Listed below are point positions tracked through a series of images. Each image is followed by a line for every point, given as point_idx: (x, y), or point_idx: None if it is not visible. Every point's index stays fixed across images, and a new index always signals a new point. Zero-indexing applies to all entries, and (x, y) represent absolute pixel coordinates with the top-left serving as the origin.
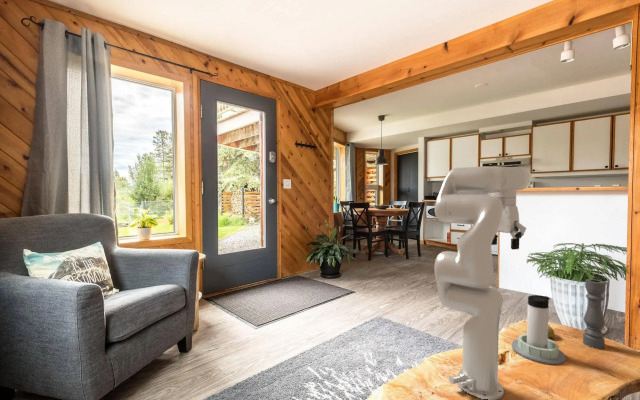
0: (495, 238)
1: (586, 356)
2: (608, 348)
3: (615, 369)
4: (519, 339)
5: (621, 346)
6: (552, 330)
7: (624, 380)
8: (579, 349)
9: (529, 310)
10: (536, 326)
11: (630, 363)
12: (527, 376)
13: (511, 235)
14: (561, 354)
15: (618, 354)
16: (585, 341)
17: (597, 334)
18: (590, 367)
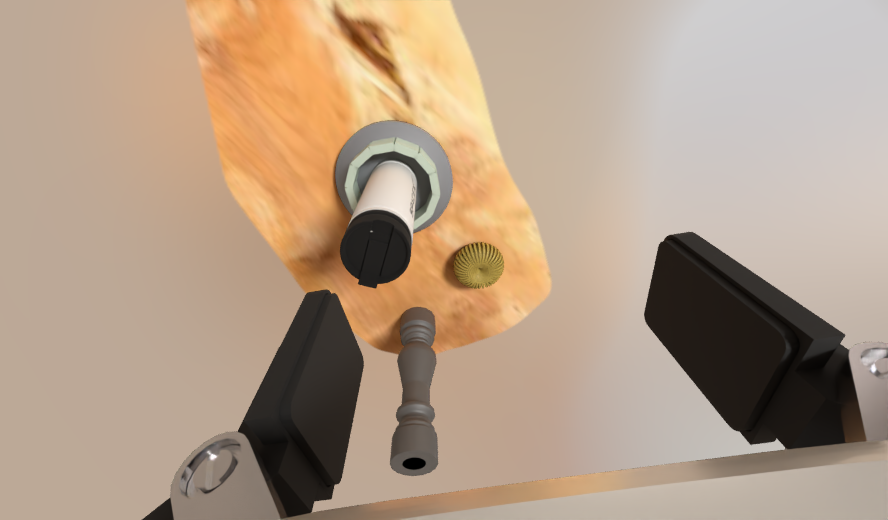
0: (704, 362)
1: None
2: None
3: (325, 282)
4: (409, 149)
5: None
6: (459, 280)
7: (286, 264)
8: (403, 282)
9: (382, 200)
10: (365, 190)
11: None
12: (274, 53)
13: (262, 490)
14: None
15: (380, 330)
16: (419, 312)
17: (404, 337)
18: (330, 244)
